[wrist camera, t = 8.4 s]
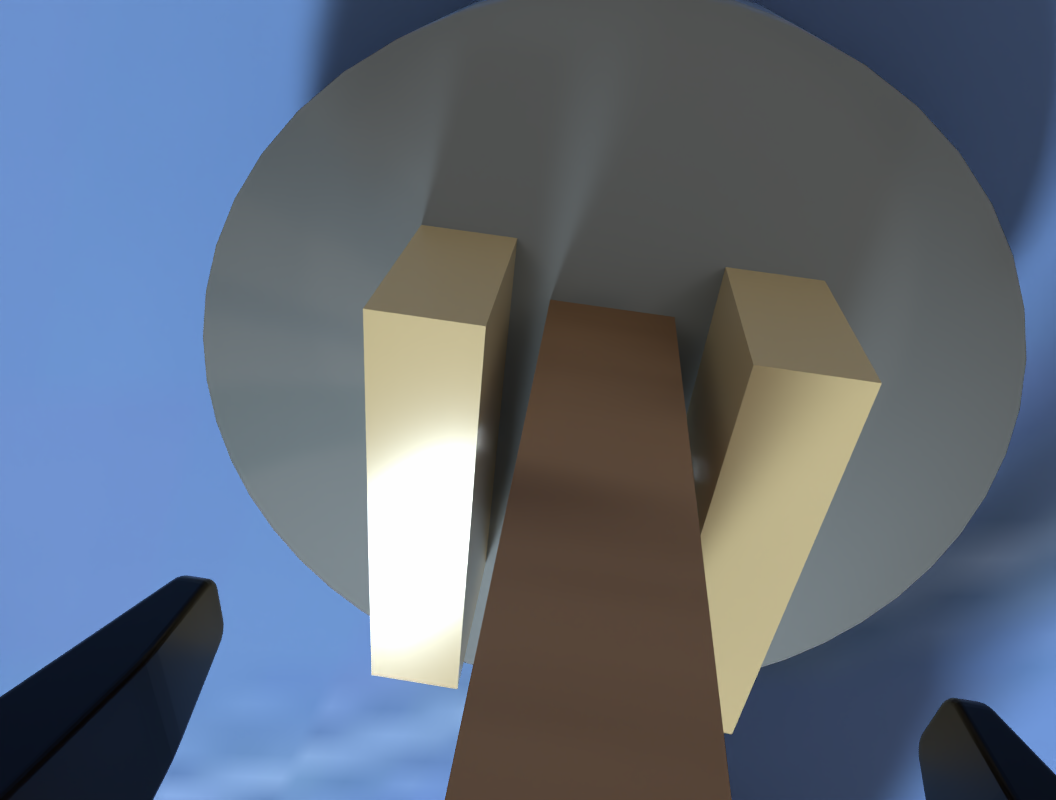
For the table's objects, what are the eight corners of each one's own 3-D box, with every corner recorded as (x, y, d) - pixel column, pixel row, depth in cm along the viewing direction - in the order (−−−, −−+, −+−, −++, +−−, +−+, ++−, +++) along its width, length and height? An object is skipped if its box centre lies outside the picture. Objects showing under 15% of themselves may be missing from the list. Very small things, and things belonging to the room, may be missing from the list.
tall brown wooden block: (621, 545, 15) (614, 1213, 7) (520, 529, 15) (406, 1172, 7) (674, 317, 12) (756, 1008, 4) (550, 299, 12) (413, 947, 4)
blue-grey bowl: (813, 598, 20) (889, 874, 14) (309, 519, 21) (183, 753, 15) (1071, 26, 12) (1464, 115, 7) (261, -73, 13) (-39, -73, 7)
